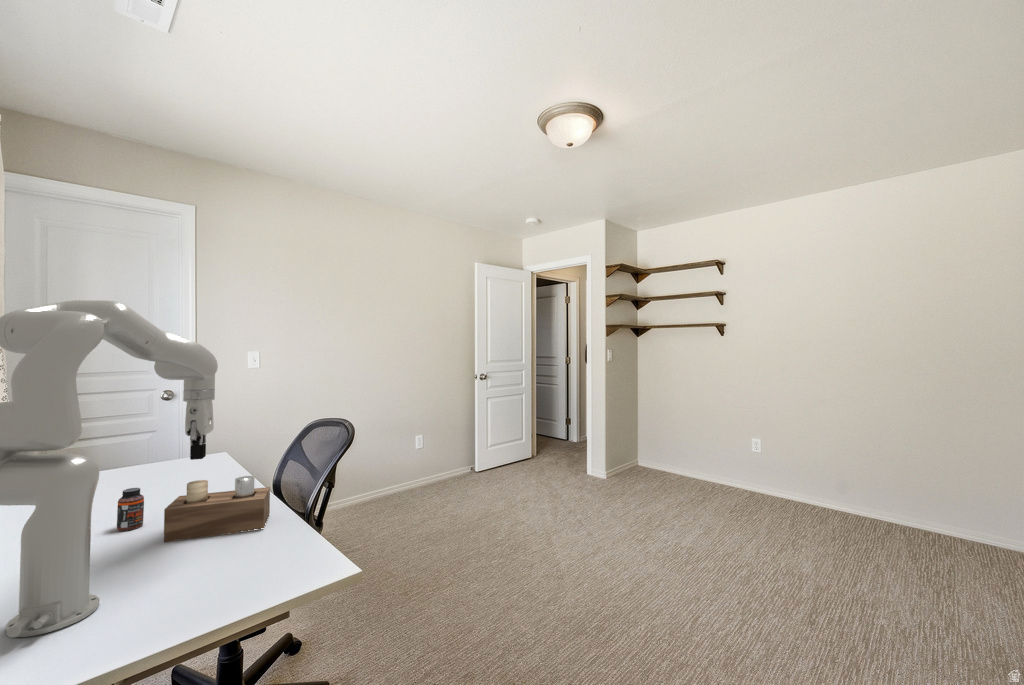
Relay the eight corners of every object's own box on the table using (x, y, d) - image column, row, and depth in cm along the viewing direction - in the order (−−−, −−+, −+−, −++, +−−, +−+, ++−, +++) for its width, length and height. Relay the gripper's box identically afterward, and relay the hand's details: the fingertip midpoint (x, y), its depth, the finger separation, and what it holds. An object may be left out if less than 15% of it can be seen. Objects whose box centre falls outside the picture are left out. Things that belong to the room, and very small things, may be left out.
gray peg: (252, 509, 130) (252, 479, 131) (232, 512, 128) (233, 481, 129) (255, 504, 135) (255, 475, 135) (236, 506, 133) (237, 476, 133)
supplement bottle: (127, 532, 126) (128, 493, 126) (111, 531, 127) (112, 491, 127) (148, 524, 132) (149, 487, 132) (132, 523, 133) (133, 485, 133)
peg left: (204, 515, 126) (205, 483, 126) (183, 517, 124) (184, 485, 124) (209, 509, 130) (209, 479, 131) (189, 511, 129) (189, 481, 129)
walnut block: (263, 529, 128) (263, 498, 128) (163, 542, 119) (164, 509, 120) (269, 515, 139) (269, 487, 140) (178, 526, 130) (179, 496, 131)
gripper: (207, 397, 122) (205, 463, 122) (220, 392, 137) (219, 451, 136) (174, 398, 120) (173, 465, 119) (192, 393, 134) (190, 453, 133)
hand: (198, 458), depth 128 cm, fingers closed
